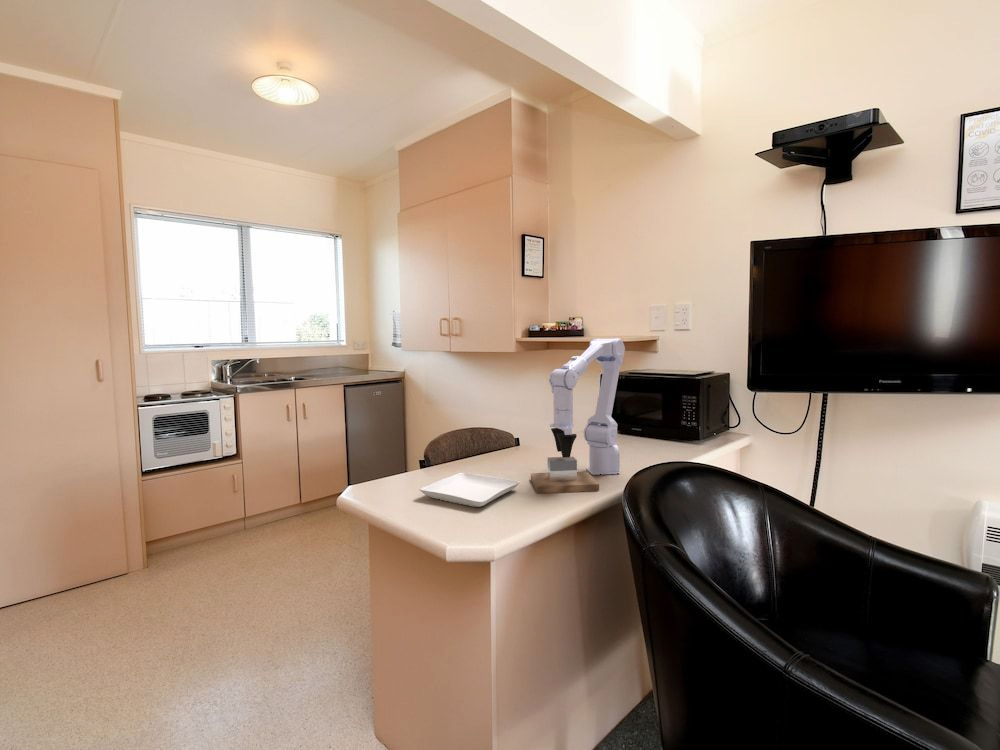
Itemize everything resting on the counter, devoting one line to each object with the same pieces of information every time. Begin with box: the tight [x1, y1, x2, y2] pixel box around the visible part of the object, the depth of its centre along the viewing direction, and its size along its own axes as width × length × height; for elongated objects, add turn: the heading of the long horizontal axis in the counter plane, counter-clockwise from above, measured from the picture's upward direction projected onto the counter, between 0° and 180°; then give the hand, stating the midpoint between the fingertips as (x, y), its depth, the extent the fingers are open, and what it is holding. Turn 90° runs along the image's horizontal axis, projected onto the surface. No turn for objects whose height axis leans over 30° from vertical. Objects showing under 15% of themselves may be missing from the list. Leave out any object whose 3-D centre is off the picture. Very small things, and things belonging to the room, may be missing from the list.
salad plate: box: [419, 472, 520, 508], centre depth 141 cm, size 21×21×3 cm
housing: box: [547, 456, 578, 481], centre depth 149 cm, size 4×8×6 cm, turn 94°
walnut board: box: [530, 470, 600, 494], centre depth 149 cm, size 18×14×2 cm
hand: (563, 454), depth 149 cm, fingers open, 7 cm apart
